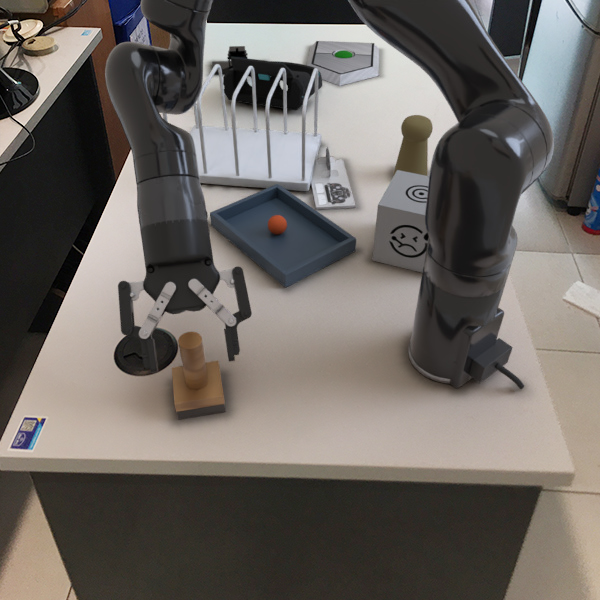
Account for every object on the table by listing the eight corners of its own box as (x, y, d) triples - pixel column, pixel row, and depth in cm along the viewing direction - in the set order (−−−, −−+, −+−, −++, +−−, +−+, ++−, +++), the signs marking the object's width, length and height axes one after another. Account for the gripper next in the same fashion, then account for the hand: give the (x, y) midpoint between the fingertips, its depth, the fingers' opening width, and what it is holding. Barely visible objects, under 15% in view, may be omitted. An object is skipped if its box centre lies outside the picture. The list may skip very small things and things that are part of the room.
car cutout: (306, 163, 115) (307, 140, 112) (342, 161, 116) (343, 139, 113) (315, 209, 104) (316, 186, 101) (355, 207, 105) (357, 184, 102)
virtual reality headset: (214, 104, 130) (213, 54, 125) (255, 80, 148) (255, 34, 142) (299, 117, 126) (301, 65, 120) (330, 90, 143) (334, 44, 138)
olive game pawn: (426, 186, 110) (435, 128, 102) (391, 183, 110) (398, 125, 103) (428, 169, 114) (437, 112, 106) (394, 165, 115) (401, 108, 107)
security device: (301, 84, 141) (301, 75, 139) (310, 46, 157) (311, 38, 155) (378, 88, 139) (378, 79, 138) (379, 49, 156) (380, 41, 154)
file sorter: (167, 182, 111) (152, 97, 100) (195, 134, 123) (183, 55, 113) (308, 192, 108) (307, 105, 97) (321, 142, 120) (322, 61, 110)
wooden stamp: (220, 376, 78) (212, 318, 71) (225, 412, 74) (218, 354, 67) (174, 383, 77) (162, 325, 70) (177, 420, 73) (165, 362, 66)
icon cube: (452, 238, 99) (463, 183, 92) (437, 276, 92) (448, 220, 85) (390, 224, 101) (397, 169, 95) (372, 260, 95) (377, 204, 88)
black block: (210, 75, 144) (208, 55, 141) (212, 62, 150) (210, 43, 146) (265, 73, 145) (264, 53, 141) (264, 61, 150) (263, 41, 147)
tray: (355, 251, 96) (356, 238, 95) (285, 287, 90) (285, 275, 88) (278, 195, 108) (277, 183, 106) (210, 225, 101) (209, 212, 100)
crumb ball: (290, 233, 99) (290, 217, 97) (275, 240, 98) (275, 225, 96) (279, 224, 101) (278, 209, 99) (264, 231, 99) (263, 216, 97)
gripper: (103, 225, 66) (124, 379, 65) (238, 209, 68) (259, 358, 67) (114, 235, 73) (132, 374, 73) (235, 221, 75) (254, 355, 75)
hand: (193, 366), depth 70 cm, fingers open, 8 cm apart
